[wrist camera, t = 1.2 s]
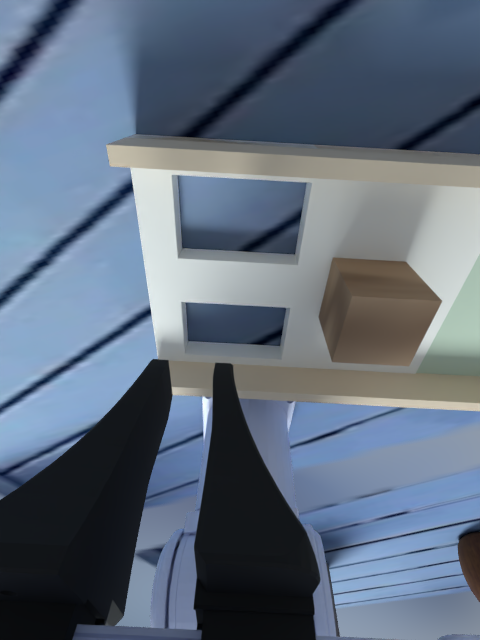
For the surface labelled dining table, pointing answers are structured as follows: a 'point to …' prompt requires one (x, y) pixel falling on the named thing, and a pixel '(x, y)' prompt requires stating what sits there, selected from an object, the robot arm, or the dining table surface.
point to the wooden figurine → (471, 560)
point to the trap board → (315, 266)
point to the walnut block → (375, 311)
